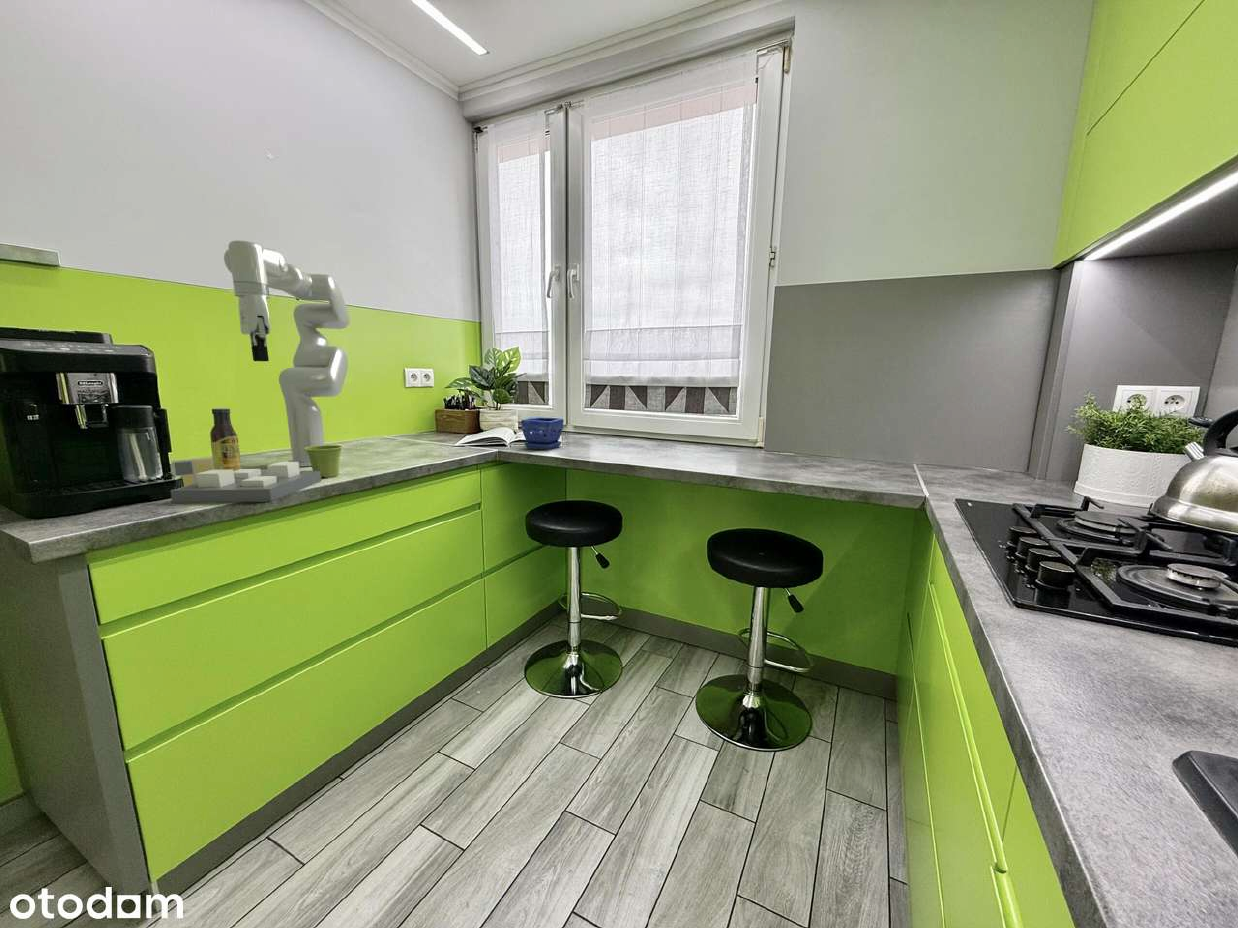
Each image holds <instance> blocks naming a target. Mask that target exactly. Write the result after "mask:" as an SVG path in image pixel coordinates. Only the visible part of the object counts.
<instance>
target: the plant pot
mask: <svg viewBox="0 0 1238 928" xmlns="http://www.w3.org/2000/svg"><path fill="white" fill-rule="evenodd" d="M342 449H343V445H337V444H325V445H322V446H311V447H307V448H305V450H306V451H307V454H308V455H309V458H310V462H311V465H312V466H311V469H312V471H320V474H321V479H322V478H327V477H330V478H335V477H337V476H339V474H340V473H339V472H340V457H341V452H342ZM334 476H335V477H334ZM327 479H328V478H327Z"/></svg>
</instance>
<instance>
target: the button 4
mask: <svg viewBox="0 0 1238 928" xmlns="http://www.w3.org/2000/svg"><path fill="white" fill-rule="evenodd" d="M266 469H267V471H268V476H276V478H290V477H293V476H296V475H299V474H300V471H301V470H300V467H299V463H298V462H288V461H279V462H275V463H271V464H269V465H267V468H266Z"/></svg>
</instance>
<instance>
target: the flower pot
mask: <svg viewBox="0 0 1238 928" xmlns="http://www.w3.org/2000/svg"><path fill="white" fill-rule="evenodd" d="M520 422H521V424H520V425H521V430H522V433H523V436H524V438H525V441H526V442H525V443H524V446H525V447H526V448H527V449H534V450H543V449H544V450H545V451H548V450H552V449H555V448H559V447H560V446H561V444H562V443H563V442H562V441H559V440H560V438H561V435H562V433H563V427H564V418H559V417H529V418H524V419H521V421H520Z"/></svg>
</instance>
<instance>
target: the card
mask: <svg viewBox="0 0 1238 928" xmlns="http://www.w3.org/2000/svg"><path fill="white" fill-rule="evenodd" d="M170 462H171V467H172V468H171V469H172V475H173V478H174V477H176V476H181V477H182V479H183V481H184V486H189V485H192V484H196V483H197V477H196V474H197V473H201V472H205V471H209V470H214V464H213V457H212V456H211V457H197V458H189V459H187V458H185V459H176V460H171V461H170Z"/></svg>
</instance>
